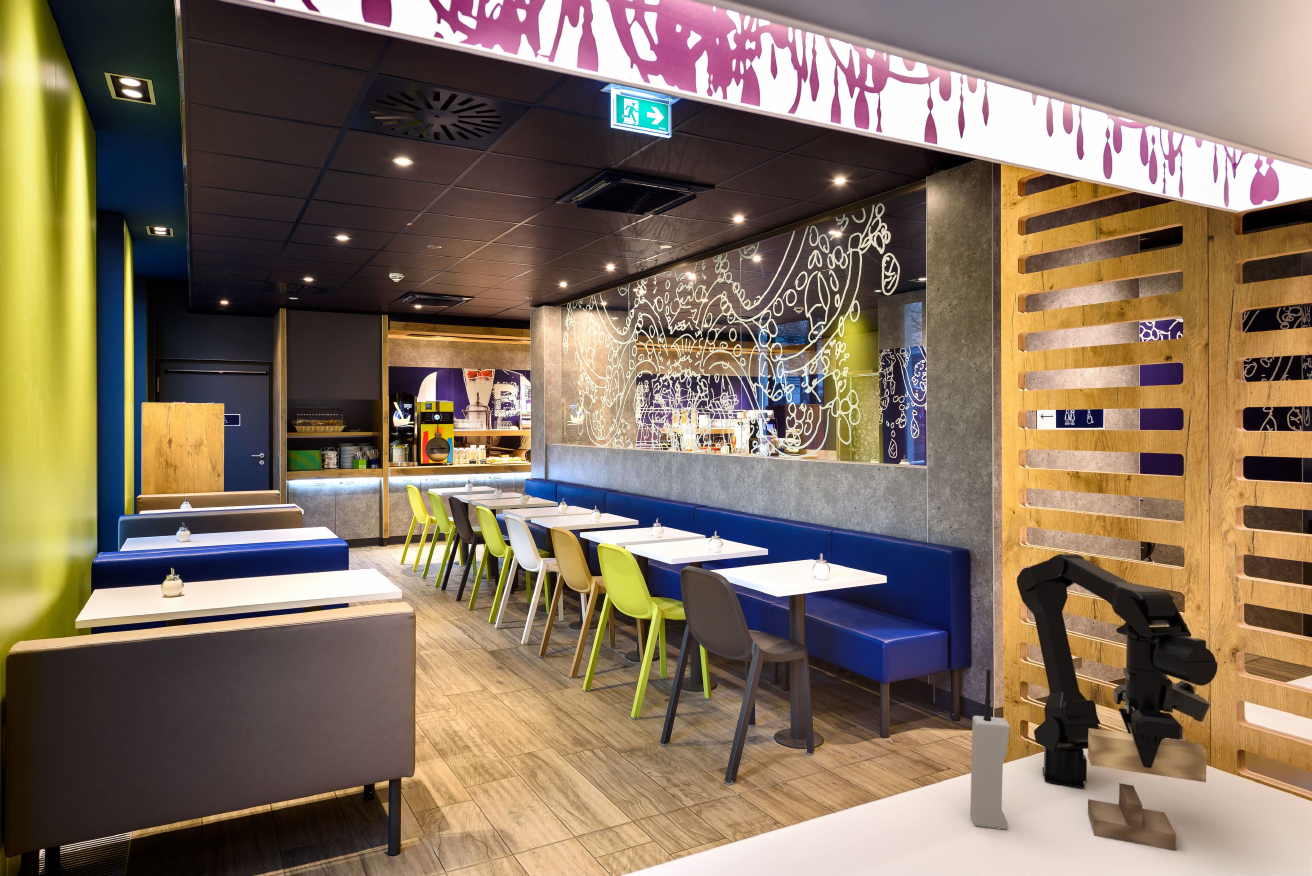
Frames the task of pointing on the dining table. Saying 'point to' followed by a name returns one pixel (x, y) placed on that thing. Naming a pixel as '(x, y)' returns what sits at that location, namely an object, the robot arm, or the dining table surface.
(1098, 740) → the light wooden block
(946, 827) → the dining table surface
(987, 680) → the vintage mobile phone
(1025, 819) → the dining table surface
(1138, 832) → the ridge stand
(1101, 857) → the dining table surface
